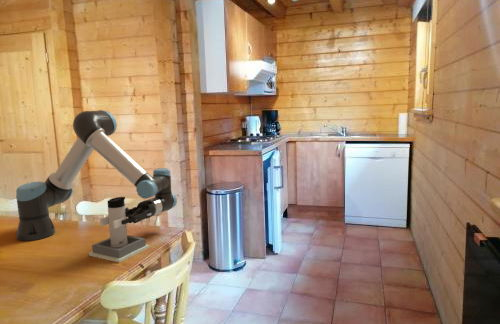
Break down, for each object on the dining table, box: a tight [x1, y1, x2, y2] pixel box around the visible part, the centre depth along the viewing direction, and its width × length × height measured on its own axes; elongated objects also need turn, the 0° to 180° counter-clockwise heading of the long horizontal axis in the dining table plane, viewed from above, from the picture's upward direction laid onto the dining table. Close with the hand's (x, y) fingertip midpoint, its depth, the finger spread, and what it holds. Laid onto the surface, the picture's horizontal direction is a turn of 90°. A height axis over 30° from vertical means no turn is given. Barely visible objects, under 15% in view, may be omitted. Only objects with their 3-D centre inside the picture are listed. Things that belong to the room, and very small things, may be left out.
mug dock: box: [88, 234, 150, 264], centre depth 146 cm, size 16×16×4 cm
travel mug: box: [107, 196, 128, 249], centre depth 145 cm, size 6×7×20 cm
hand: (107, 223), depth 140 cm, fingers closed on travel mug, 6 cm apart
